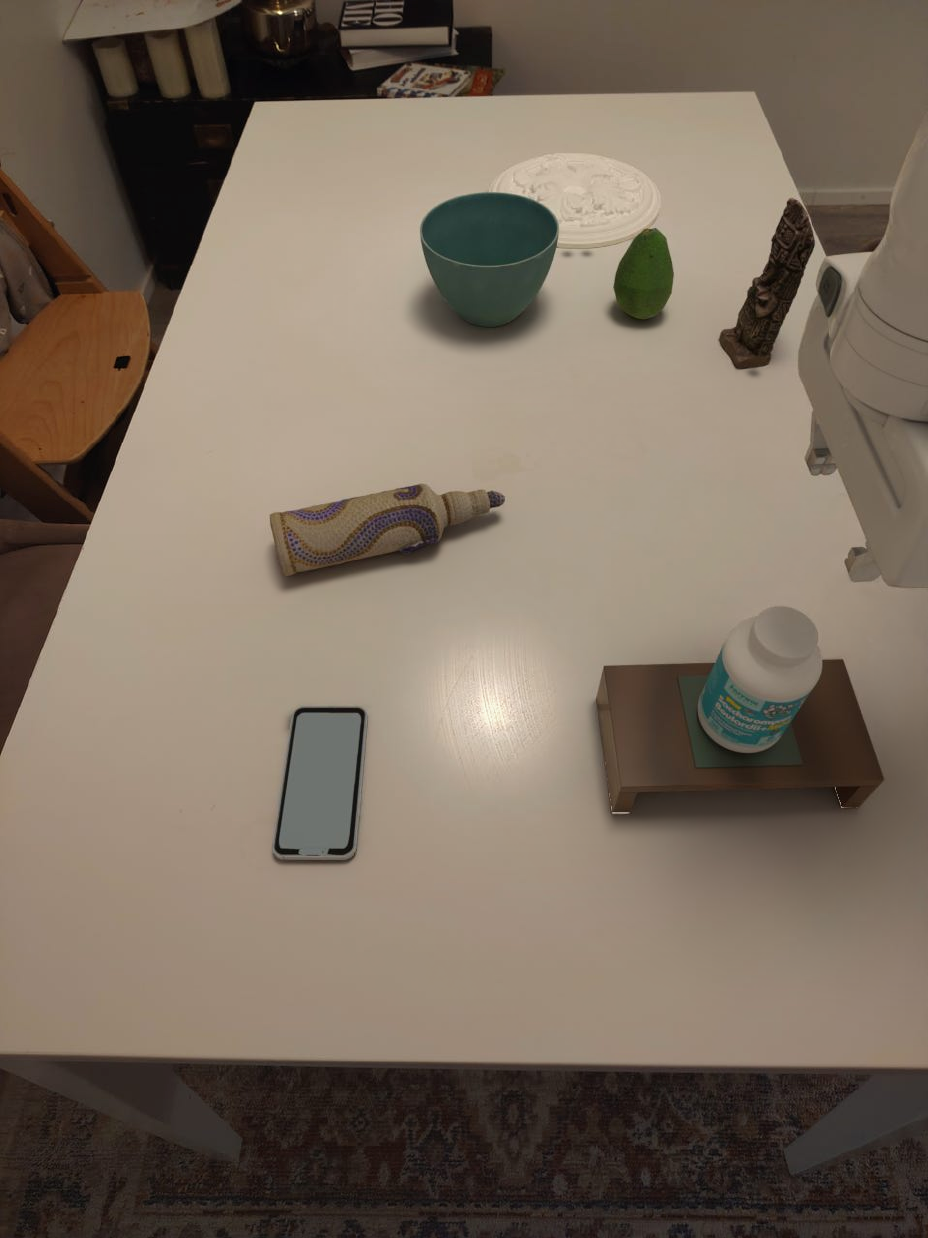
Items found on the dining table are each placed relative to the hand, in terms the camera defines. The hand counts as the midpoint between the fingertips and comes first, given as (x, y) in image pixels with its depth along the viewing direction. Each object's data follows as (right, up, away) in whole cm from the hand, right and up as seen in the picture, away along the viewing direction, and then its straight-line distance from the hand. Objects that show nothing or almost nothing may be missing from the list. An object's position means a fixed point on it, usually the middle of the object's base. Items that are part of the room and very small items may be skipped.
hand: (837, 518), depth 55 cm
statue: (+14, +29, +56) cm, 64 cm away
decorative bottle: (-34, +1, +37) cm, 50 cm away
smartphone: (-38, -22, +20) cm, 48 cm away
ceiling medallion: (-7, +61, +79) cm, 100 cm away
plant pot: (-22, +37, +62) cm, 76 cm away
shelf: (-1, -19, +21) cm, 29 cm away
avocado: (-1, +36, +61) cm, 71 cm away
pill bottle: (-1, -16, +17) cm, 23 cm away
